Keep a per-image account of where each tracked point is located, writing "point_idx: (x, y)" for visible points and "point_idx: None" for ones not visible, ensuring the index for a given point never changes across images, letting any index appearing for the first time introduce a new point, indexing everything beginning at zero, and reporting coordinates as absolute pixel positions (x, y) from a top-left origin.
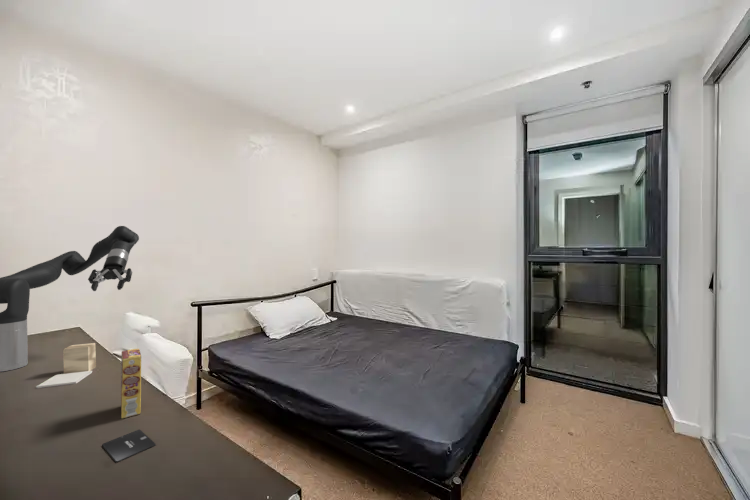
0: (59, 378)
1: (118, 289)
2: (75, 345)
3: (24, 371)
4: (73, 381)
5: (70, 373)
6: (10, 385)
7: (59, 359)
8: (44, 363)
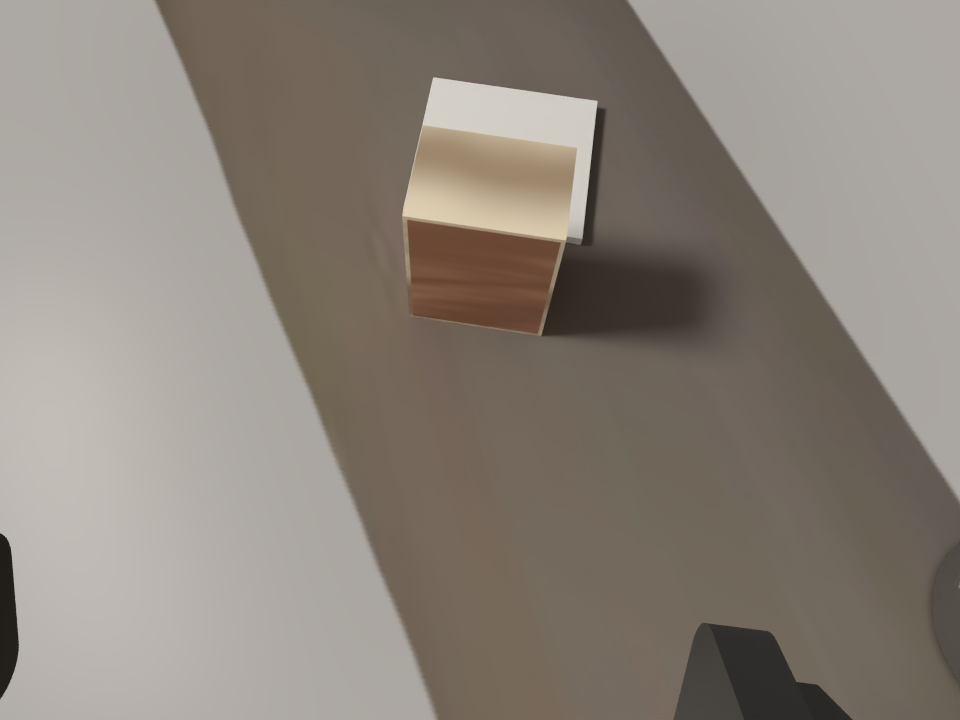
0: None
1: (6, 639)
2: (531, 215)
3: (844, 460)
4: (446, 85)
5: None
6: (753, 213)
7: None
8: (821, 623)
